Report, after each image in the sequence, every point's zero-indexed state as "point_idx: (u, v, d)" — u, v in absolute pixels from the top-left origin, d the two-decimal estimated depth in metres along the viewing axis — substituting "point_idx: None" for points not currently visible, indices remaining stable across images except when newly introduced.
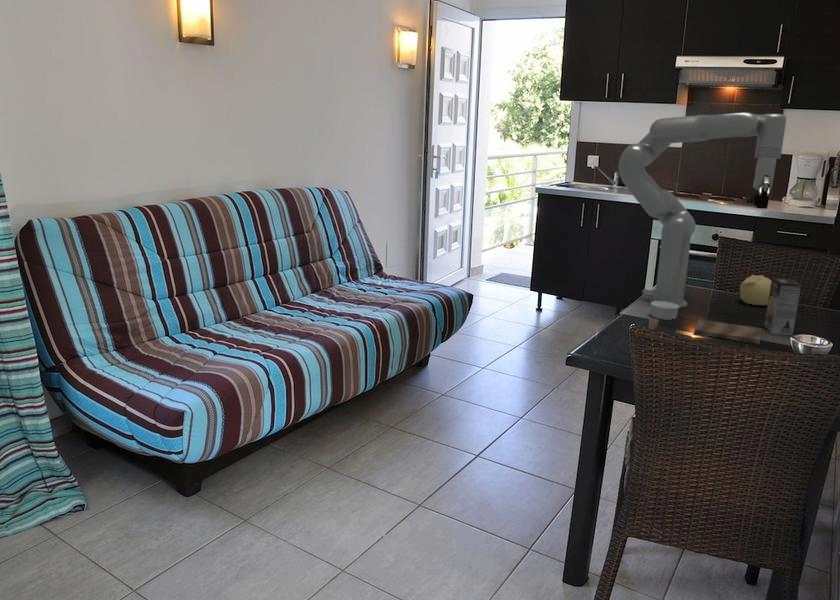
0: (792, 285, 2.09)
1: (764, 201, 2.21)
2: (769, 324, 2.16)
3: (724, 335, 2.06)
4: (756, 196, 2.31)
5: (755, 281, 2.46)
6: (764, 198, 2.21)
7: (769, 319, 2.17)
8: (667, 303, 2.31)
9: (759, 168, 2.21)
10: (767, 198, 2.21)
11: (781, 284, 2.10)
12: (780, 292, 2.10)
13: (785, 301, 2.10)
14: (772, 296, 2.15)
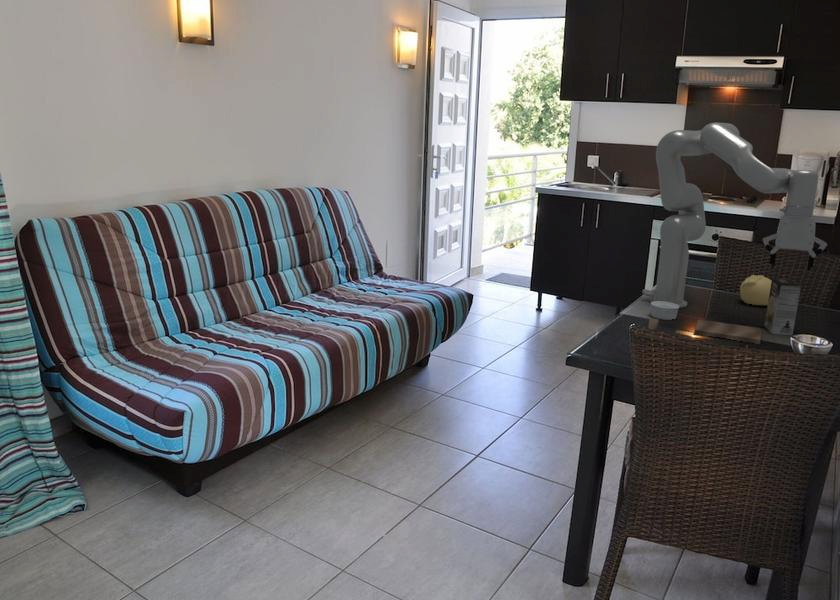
0: (792, 285, 2.09)
1: None
2: (769, 324, 2.16)
3: (724, 335, 2.06)
4: (775, 257, 2.12)
5: (755, 281, 2.46)
6: (813, 259, 2.09)
7: (769, 319, 2.17)
8: (667, 303, 2.31)
9: (814, 229, 2.05)
10: None
11: (781, 284, 2.10)
12: (780, 292, 2.10)
13: (785, 301, 2.10)
14: (772, 296, 2.15)
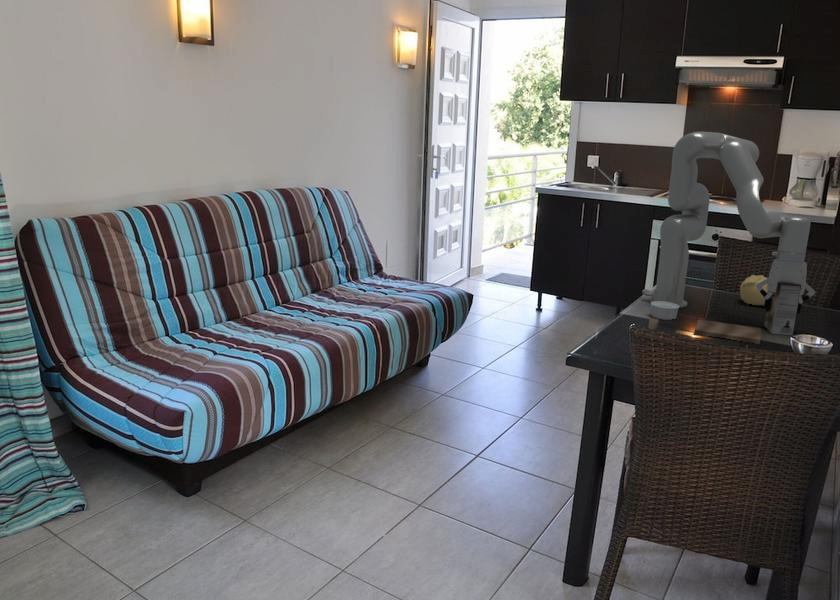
0: (792, 285, 2.09)
1: (800, 307, 2.13)
2: (769, 324, 2.16)
3: (724, 335, 2.06)
4: (769, 302, 2.15)
5: (755, 281, 2.46)
6: (800, 305, 2.13)
7: (769, 319, 2.17)
8: (667, 303, 2.31)
9: (805, 275, 2.09)
10: None
11: (781, 284, 2.10)
12: (781, 292, 2.10)
13: (785, 301, 2.10)
14: (773, 296, 2.15)
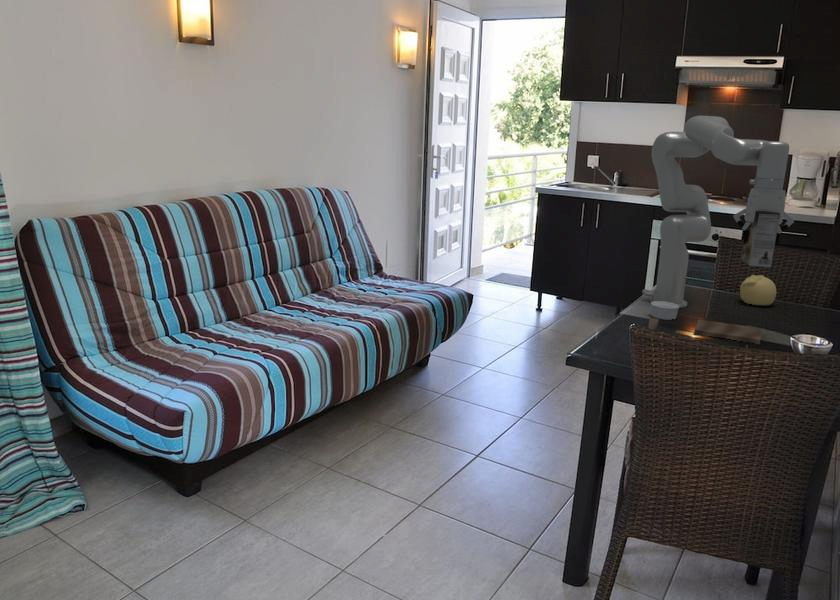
0: (771, 213, 2.00)
1: (778, 238, 2.05)
2: (747, 256, 2.07)
3: (724, 335, 2.06)
4: None
5: (755, 281, 2.46)
6: None
7: (747, 251, 2.08)
8: (667, 303, 2.31)
9: (783, 202, 2.00)
10: None
11: (759, 212, 2.01)
12: (759, 221, 2.01)
13: (763, 230, 2.02)
14: (750, 227, 2.06)
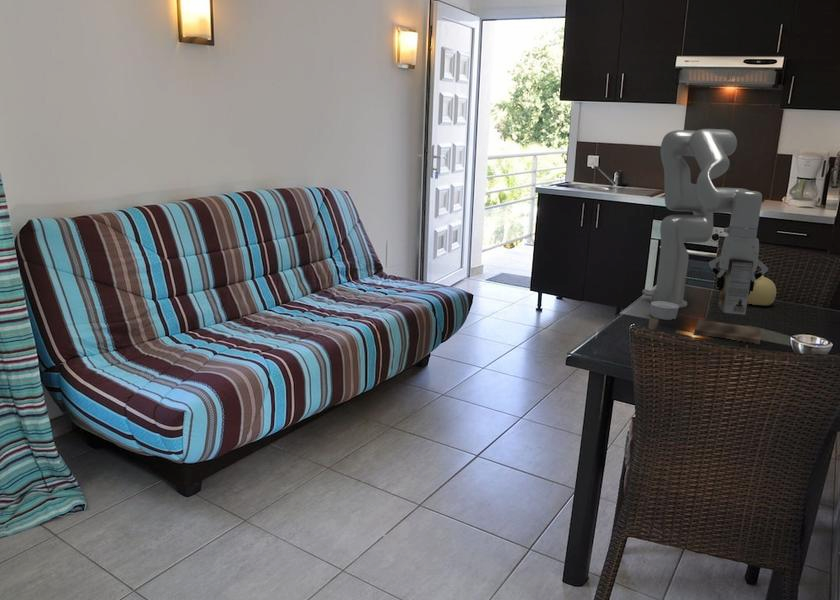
0: (744, 262, 2.02)
1: (753, 286, 2.06)
2: (722, 303, 2.09)
3: (724, 335, 2.06)
4: (722, 281, 2.08)
5: (755, 281, 2.46)
6: None
7: (722, 298, 2.09)
8: (667, 303, 2.31)
9: (757, 251, 2.01)
10: None
11: (733, 261, 2.02)
12: (732, 269, 2.03)
13: (737, 278, 2.03)
14: (725, 274, 2.08)
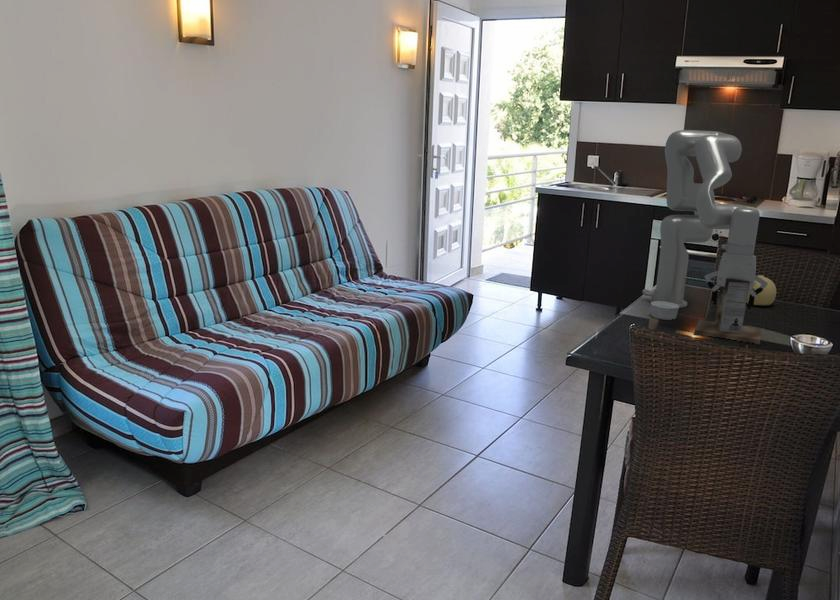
0: (740, 282, 2.03)
1: None
2: (718, 322, 2.11)
3: (724, 335, 2.06)
4: (716, 295, 2.10)
5: (755, 281, 2.46)
6: None
7: (718, 316, 2.11)
8: (667, 303, 2.31)
9: (754, 268, 2.03)
10: None
11: (729, 280, 2.04)
12: (728, 288, 2.04)
13: (733, 298, 2.05)
14: (722, 293, 2.09)
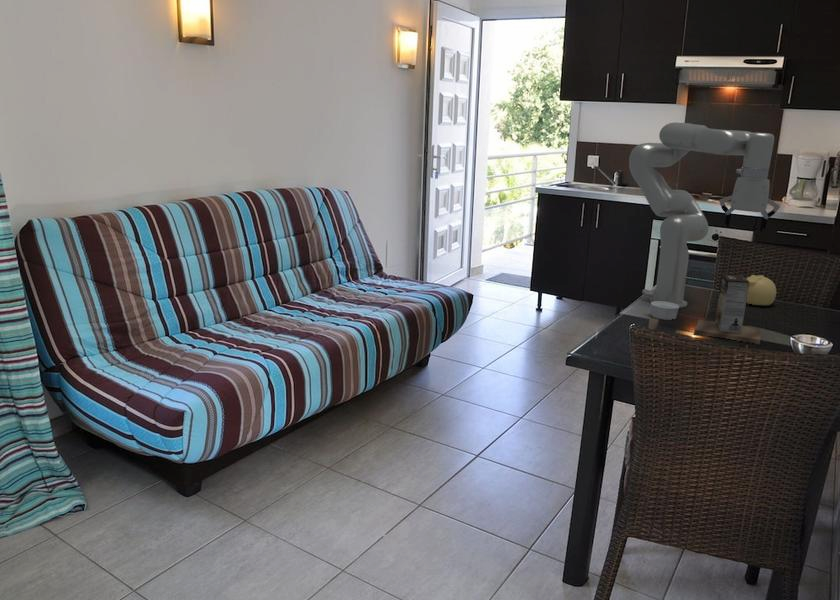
0: (740, 282, 2.03)
1: None
2: (718, 322, 2.11)
3: (724, 335, 2.06)
4: (730, 218, 2.18)
5: (755, 281, 2.46)
6: (766, 221, 2.15)
7: (718, 317, 2.11)
8: (667, 303, 2.31)
9: (767, 191, 2.11)
10: None
11: (729, 281, 2.04)
12: (728, 288, 2.04)
13: (733, 298, 2.05)
14: (721, 293, 2.09)
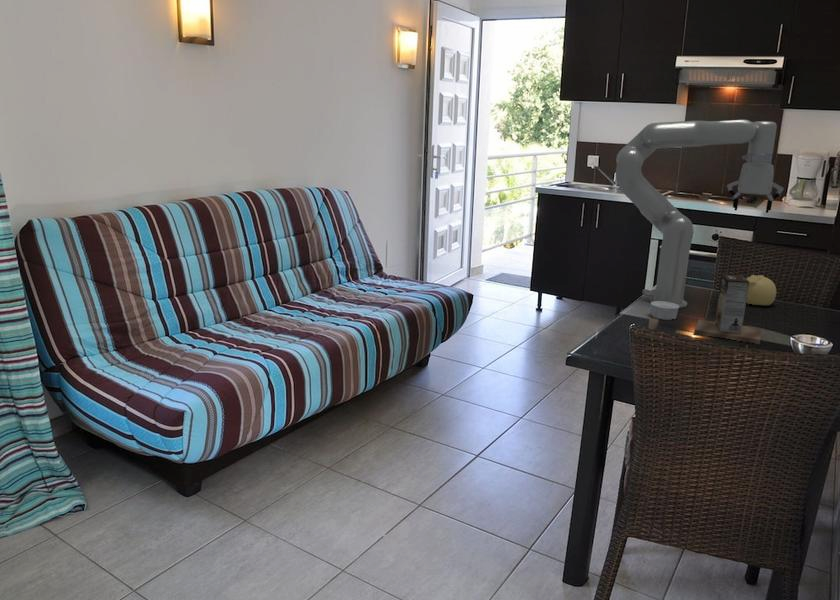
0: (740, 282, 2.03)
1: (771, 205, 2.32)
2: (718, 322, 2.11)
3: (724, 335, 2.06)
4: (737, 201, 2.35)
5: (755, 281, 2.46)
6: (771, 202, 2.32)
7: (718, 317, 2.11)
8: (667, 303, 2.31)
9: (771, 175, 2.28)
10: None
11: (729, 281, 2.04)
12: (728, 288, 2.04)
13: (733, 298, 2.05)
14: (721, 293, 2.09)
